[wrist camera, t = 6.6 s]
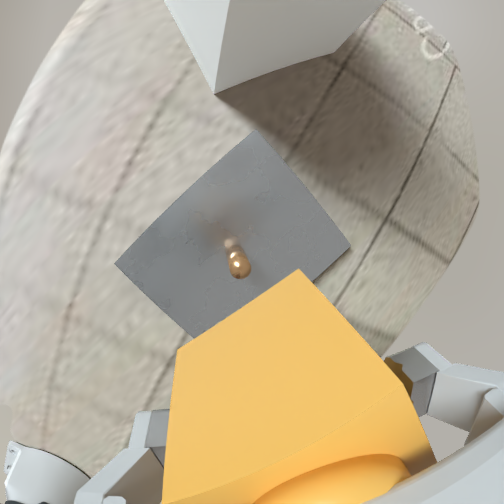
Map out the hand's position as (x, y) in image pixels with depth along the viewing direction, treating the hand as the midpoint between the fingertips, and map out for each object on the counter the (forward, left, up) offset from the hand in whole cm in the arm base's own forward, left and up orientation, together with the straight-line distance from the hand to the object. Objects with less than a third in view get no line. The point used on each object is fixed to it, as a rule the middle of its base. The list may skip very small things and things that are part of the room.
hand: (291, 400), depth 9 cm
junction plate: (0, 0, -19) cm, 19 cm away
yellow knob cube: (0, 0, -2) cm, 2 cm away
